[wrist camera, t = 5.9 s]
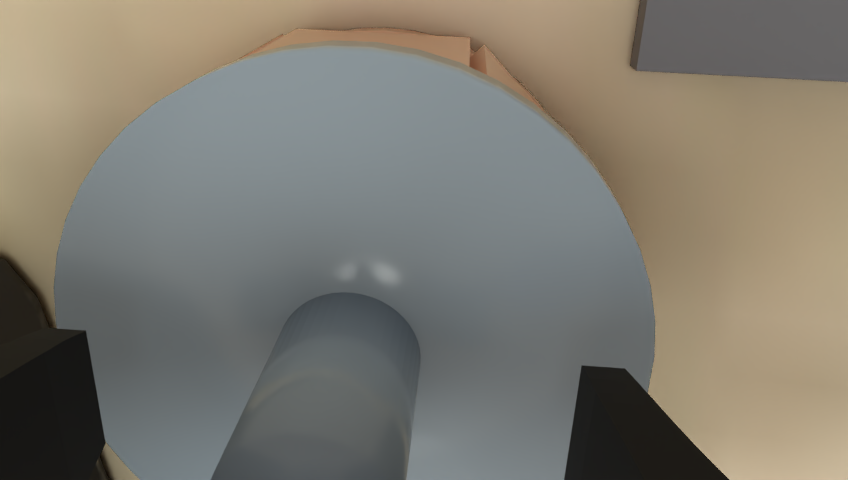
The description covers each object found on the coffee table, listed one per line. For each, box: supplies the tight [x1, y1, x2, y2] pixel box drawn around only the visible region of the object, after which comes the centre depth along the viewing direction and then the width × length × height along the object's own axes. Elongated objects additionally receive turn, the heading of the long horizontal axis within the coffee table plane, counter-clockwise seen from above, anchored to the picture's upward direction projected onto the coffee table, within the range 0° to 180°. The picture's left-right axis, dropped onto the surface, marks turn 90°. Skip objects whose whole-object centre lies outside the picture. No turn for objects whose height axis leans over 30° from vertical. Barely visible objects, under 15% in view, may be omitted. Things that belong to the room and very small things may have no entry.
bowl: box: [239, 28, 548, 115], centre depth 15 cm, size 9×9×4 cm
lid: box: [54, 40, 655, 480], centre depth 11 cm, size 10×10×4 cm
